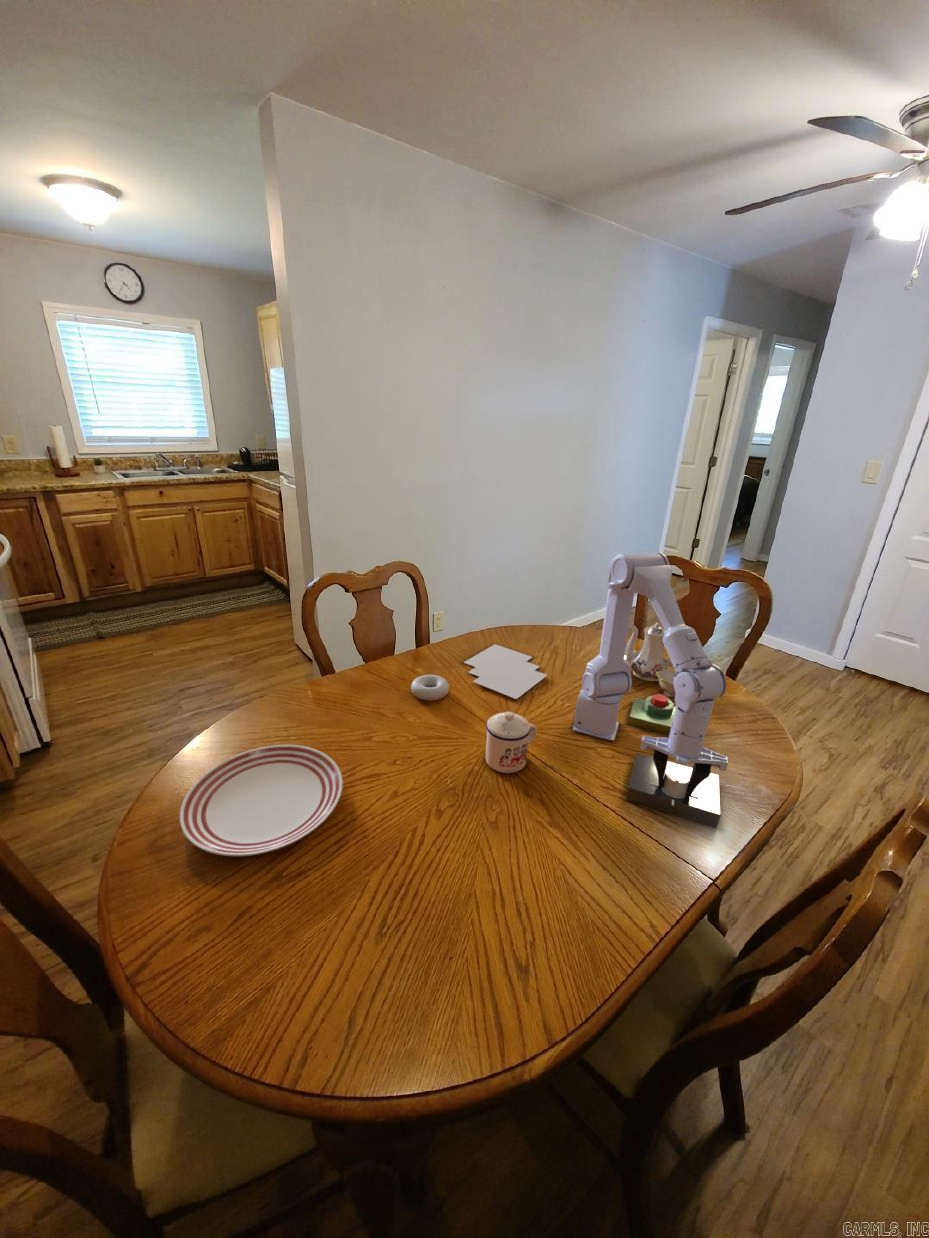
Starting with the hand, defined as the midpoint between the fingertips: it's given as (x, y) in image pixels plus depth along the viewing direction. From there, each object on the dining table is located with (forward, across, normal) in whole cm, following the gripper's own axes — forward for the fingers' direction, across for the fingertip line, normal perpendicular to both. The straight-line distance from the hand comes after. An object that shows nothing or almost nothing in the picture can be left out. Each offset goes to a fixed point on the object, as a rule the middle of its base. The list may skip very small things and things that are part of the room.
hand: (674, 788), depth 94 cm
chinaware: (+4, -10, +50) cm, 51 cm away
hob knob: (0, 0, 0) cm, 0 cm away
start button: (0, -5, +31) cm, 31 cm away
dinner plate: (+4, -68, -33) cm, 76 cm away
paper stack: (+4, -47, +36) cm, 59 cm away
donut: (+4, -60, +16) cm, 62 cm away
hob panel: (+3, 0, +3) cm, 5 cm away
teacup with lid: (+4, -32, -1) cm, 32 cm away
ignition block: (+3, -5, +29) cm, 30 cm away
